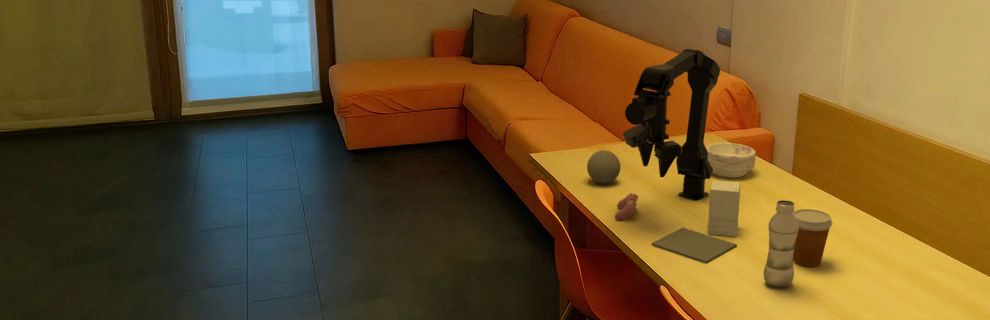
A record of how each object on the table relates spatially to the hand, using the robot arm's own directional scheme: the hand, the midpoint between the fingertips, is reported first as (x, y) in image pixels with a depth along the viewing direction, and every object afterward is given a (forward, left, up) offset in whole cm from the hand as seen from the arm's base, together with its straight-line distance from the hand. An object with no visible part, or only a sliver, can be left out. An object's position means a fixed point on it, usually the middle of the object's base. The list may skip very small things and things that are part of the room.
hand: (653, 171), depth 240 cm
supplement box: (-6, +18, -14) cm, 24 cm away
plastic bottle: (+13, +44, -14) cm, 48 cm away
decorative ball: (-14, -28, -14) cm, 34 cm away
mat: (+8, +18, -14) cm, 24 cm away
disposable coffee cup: (-3, +43, -14) cm, 46 cm away
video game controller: (+2, -7, -14) cm, 16 cm away
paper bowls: (-47, -5, -14) cm, 49 cm away
